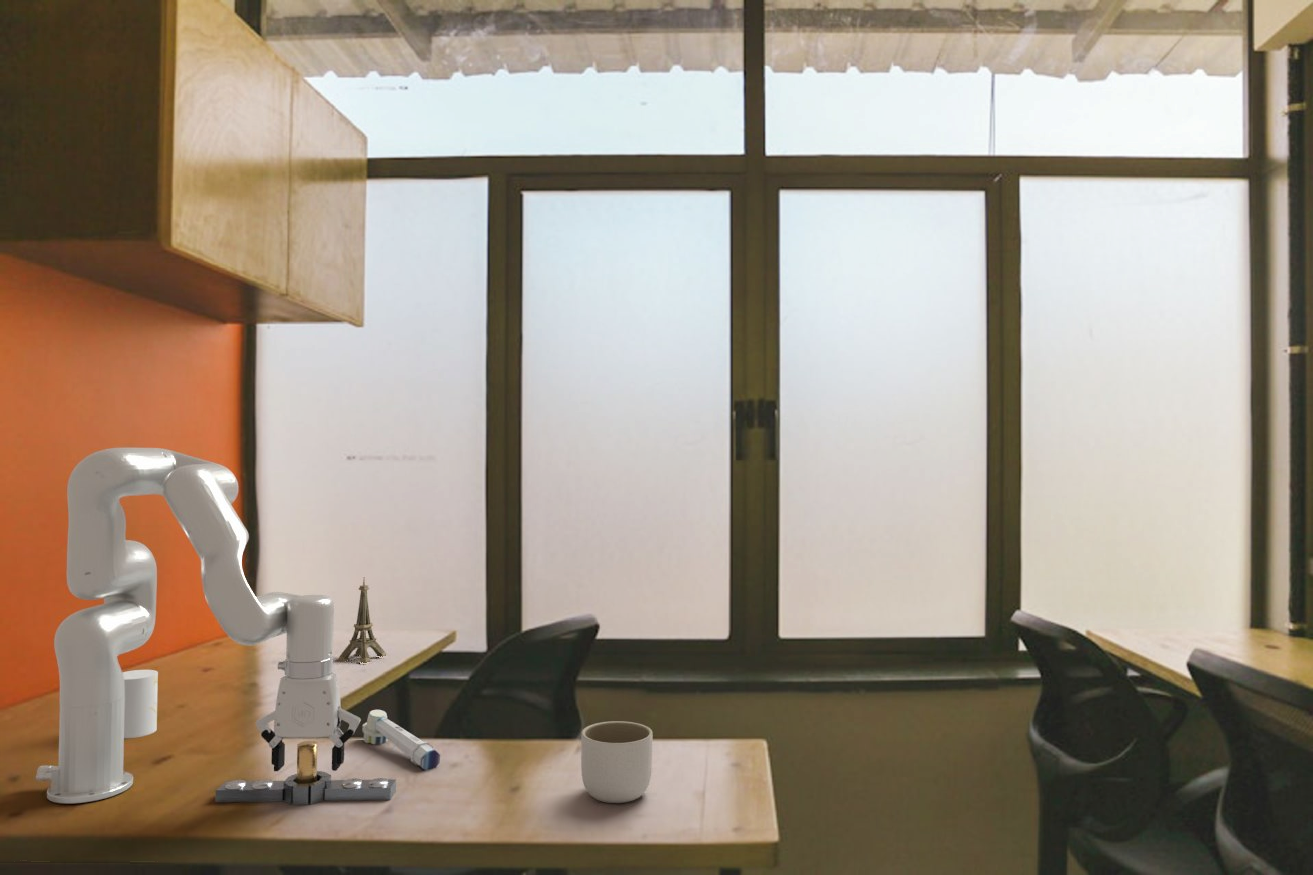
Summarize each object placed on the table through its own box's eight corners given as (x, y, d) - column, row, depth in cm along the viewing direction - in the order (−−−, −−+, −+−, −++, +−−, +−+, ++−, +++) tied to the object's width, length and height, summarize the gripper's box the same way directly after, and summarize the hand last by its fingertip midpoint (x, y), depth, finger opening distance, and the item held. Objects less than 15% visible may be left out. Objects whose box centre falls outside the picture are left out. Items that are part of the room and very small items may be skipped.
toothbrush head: (419, 753, 163) (359, 705, 181) (416, 787, 163) (356, 736, 181) (444, 746, 166) (383, 700, 184) (441, 780, 167) (380, 731, 185)
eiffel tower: (359, 653, 257) (360, 567, 257) (389, 656, 253) (391, 569, 253) (334, 661, 247) (336, 572, 247) (366, 665, 243) (367, 574, 243)
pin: (293, 800, 149) (294, 747, 150) (300, 792, 153) (300, 740, 153) (312, 800, 150) (313, 746, 150) (318, 792, 153) (319, 740, 153)
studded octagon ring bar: (211, 805, 147) (211, 787, 147) (229, 789, 154) (229, 772, 154) (388, 803, 148) (388, 785, 149) (397, 787, 156) (398, 770, 156)
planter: (658, 785, 158) (659, 723, 158) (642, 812, 146) (643, 746, 146) (592, 778, 161) (593, 718, 161) (570, 804, 149) (571, 739, 149)
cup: (162, 732, 184) (163, 674, 184) (118, 741, 178) (119, 681, 178) (149, 723, 190) (150, 667, 190) (106, 731, 184) (107, 674, 184)
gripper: (249, 674, 147) (247, 776, 147) (354, 673, 148) (353, 775, 148) (266, 663, 155) (264, 761, 154) (366, 662, 156) (365, 760, 156)
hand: (307, 768), depth 151 cm, fingers open, 9 cm apart
